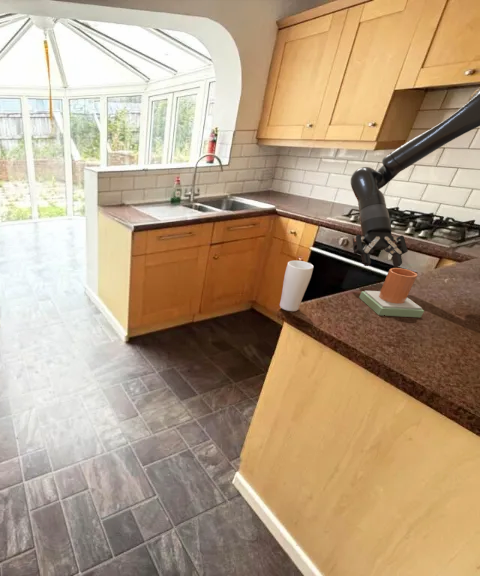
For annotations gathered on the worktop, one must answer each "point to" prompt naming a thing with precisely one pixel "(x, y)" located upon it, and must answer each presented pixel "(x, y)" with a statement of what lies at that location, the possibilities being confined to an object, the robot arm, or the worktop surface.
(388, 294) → the cup
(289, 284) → the drinking glass
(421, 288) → the worktop surface
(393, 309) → the scale
